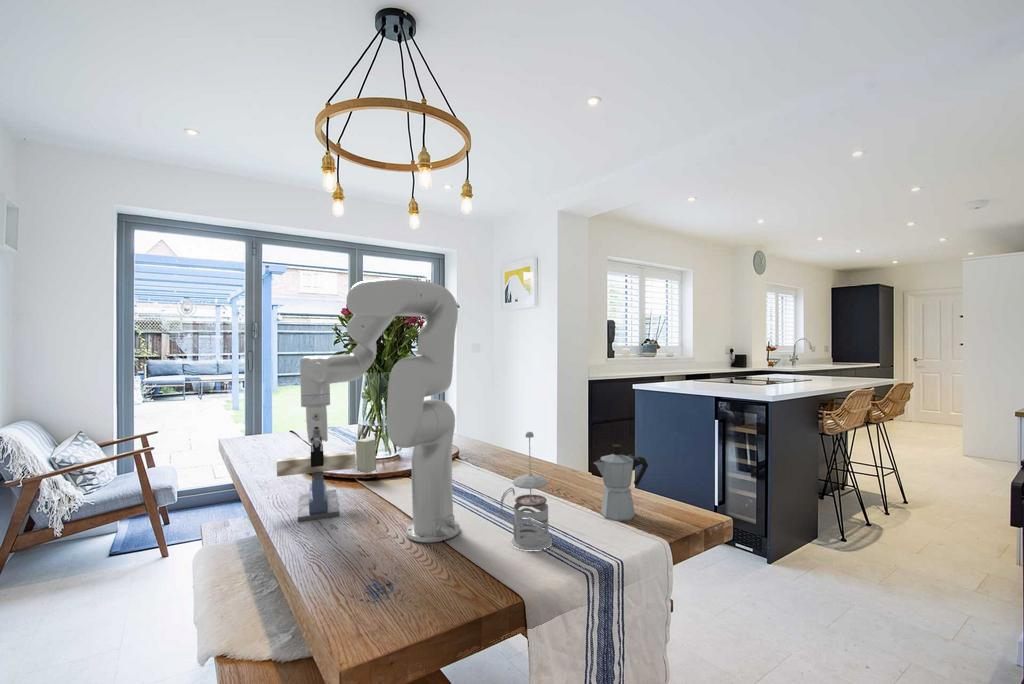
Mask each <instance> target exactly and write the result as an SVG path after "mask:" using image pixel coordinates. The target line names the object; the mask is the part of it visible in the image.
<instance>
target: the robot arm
mask: <svg viewBox="0 0 1024 684" xmlns="http://www.w3.org/2000/svg"><path fill="white" fill-rule="evenodd" d="M346 305H347V309H348V310H349V312H350V313H351V314H352V316H351V318H350V319H349V321H347V324H346V332H347V334H348V336H350V338H351V339H352V340H353V341H355V342H356V343H357V345H356V346H355V347H354V349H353V350H352V351H351V352H350V353H347V354H332V355H330V354H329V355H307V356H306V355H305V356H303V357H302V358H301V359H300V361H299V369H300V371H299V372H300V373H299V375H300V377H299V379H300V407H302V408H305V416H306V417H305V419H306V420H305V421H306V431H307V439H308V443H310V444H311V445H310V456H311V467H318V466H323V465H324V455H325V454H324V444H323V442H325V443H327V442H328V441H329V440H328V438H329V437H328V434H329V433H328V411H327V409H328V408H327V407H328V406H331V387H330V386H331V384H338V383H343V382H345V383H346V382H354V381H356V380H359V379H360V378H361V377H362V376H363V375H365V374H366V372H367V371H369V368H370V367H371V366H372V364H373V363H374V361H375V360H376V356H377V349H378V347H377V346H378V345H377V341H378V339H379V338H380V337H381V336H382V334H383V333H384V332H385V331H386V330H387V328H388V327H389V325H390V324H391V323H392V322H393V321H394V319H395V318H396V317H423V318H425V321H424V323H422V326H421V328H420V329H419V332H418V338H417V352H416V355H412V356H411V355H410V356H406V357H403V358H400V359H399V360H398V361H396V363H395V364H394V365H393V366H392V368H391V371H390V373H389V377H388V387H387V401H386V418H385V419H386V420H385V424H386V425H385V426H386V432H387V436H388V438H389V440H390V441H391V443H392V444H393V445H395V447H398V448H402V449H409V448H413V451H412V452H411V453H412V455H411V495H412V496H411V499H412V500H411V503H412V522H411V524H409V525H408V526H407V528H406V530H405V532H406V533H405V534H406V537H407V538H408V539H409V540H411V541H414V542H418V543H431V544H432V543H439V542H443V540H444V541H447V540H450V539H453V538H454V537H455V536H457V535H458V534H459V532H460V531H461V528H460V527H461V526H460V523H459V522H458V521H457V520H455V519H456V518H455V515H454V509H453V508H454V505H453V504H454V503H453V502H454V501H453V500H454V498H453V496H454V495H453V439H454V435H455V428H456V416H455V415H456V414H455V413H454V410H453V408H452V406H451V405H450V404H449V403H447V401H444V400H442V399H435V398H432V399H426V400H425V398H426V397H431V396H435V395H439V394H443V393H444V392H446V391H448V390H449V389H450V387H451V384H452V379H453V372H454V371H453V370H454V368H453V367H454V355H455V339H456V329H457V325H458V316H459V315H458V314H459V313H458V312H459V311H458V304H457V301H456V299H455V297H454V295H453V294H452V293H451V291H449V290H448V289H447V288H446V287H445V286H443V285H440V284H438V283H435V282H431V281H423V280H419V279H417V280H416V279H409V278H402V277H393V278H392V277H391V278H381V279H372V280H370V279H369V280H363V281H359V282H357V283H355V284H354V285H352V287H350V289H349V290H348V292H347V295H346ZM456 534H457V535H456ZM449 538H450V539H449ZM446 539H447V540H446Z"/></svg>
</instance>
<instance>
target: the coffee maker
mask: <svg viewBox="0 0 1024 684" xmlns="http://www.w3.org/2000/svg"><path fill="white" fill-rule="evenodd" d="M621 448H622V445H621V444H612V451H613V453H611V454H609V455H603V456H600V459H598V460H596V461H595V462H593V464H594V465H596V467H597V469H598V471H599V473H600V474H601V477H602V480H603V485H604V486H605V487H604V488H603V493H602V499H601V509H600V515H601V516H602V517H603V518H604V519H606V520H611V521H616V522H625V521H631V520H632V519H633V518H634V517H635V516H636V512H635V507H634V501H633V495H632V490H631V488H630V486H632V476H633V470H634V469H635V468H637V467H639V466H640V465H641V468H640V469H639V471H638V473H637V474H636V475H637V476H636V477H635V479H634V481H633V484H634V485H635V486H636V487H638V486H639V485H640V482H641V480H642V478H644V477H643V476H644V474H645V473H646V471H647V469H648V467H649V464H648V462H647V460H646V458H645V457H643V456H635V455H634V454H628V455H624V454H621Z"/></svg>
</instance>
